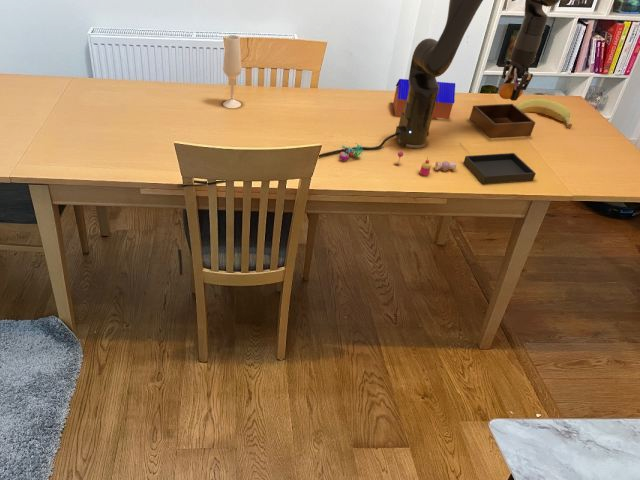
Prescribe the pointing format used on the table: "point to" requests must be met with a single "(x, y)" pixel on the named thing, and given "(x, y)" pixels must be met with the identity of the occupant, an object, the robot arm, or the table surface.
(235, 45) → the champagne flute
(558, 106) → the banana
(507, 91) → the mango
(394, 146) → the table surface
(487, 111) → the brown wooden box
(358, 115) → the table surface
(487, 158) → the tray
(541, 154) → the table surface
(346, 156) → the anatomy model
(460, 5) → the robot arm
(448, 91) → the house
